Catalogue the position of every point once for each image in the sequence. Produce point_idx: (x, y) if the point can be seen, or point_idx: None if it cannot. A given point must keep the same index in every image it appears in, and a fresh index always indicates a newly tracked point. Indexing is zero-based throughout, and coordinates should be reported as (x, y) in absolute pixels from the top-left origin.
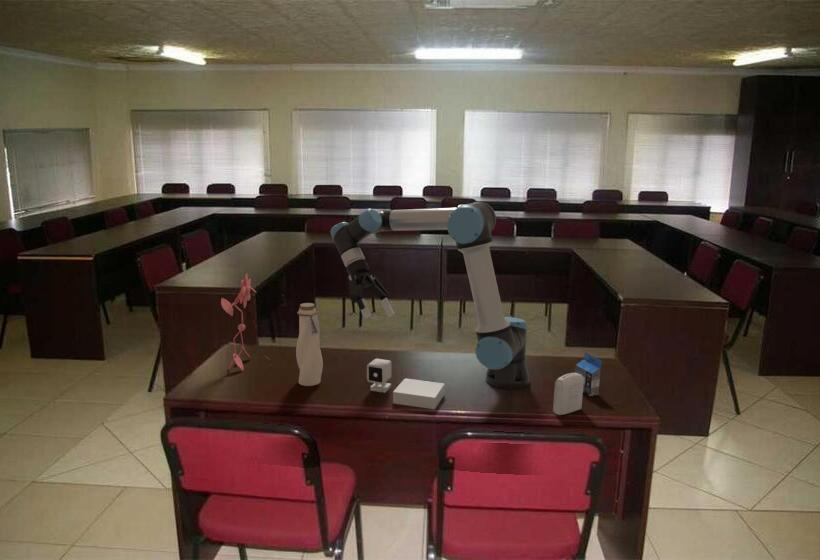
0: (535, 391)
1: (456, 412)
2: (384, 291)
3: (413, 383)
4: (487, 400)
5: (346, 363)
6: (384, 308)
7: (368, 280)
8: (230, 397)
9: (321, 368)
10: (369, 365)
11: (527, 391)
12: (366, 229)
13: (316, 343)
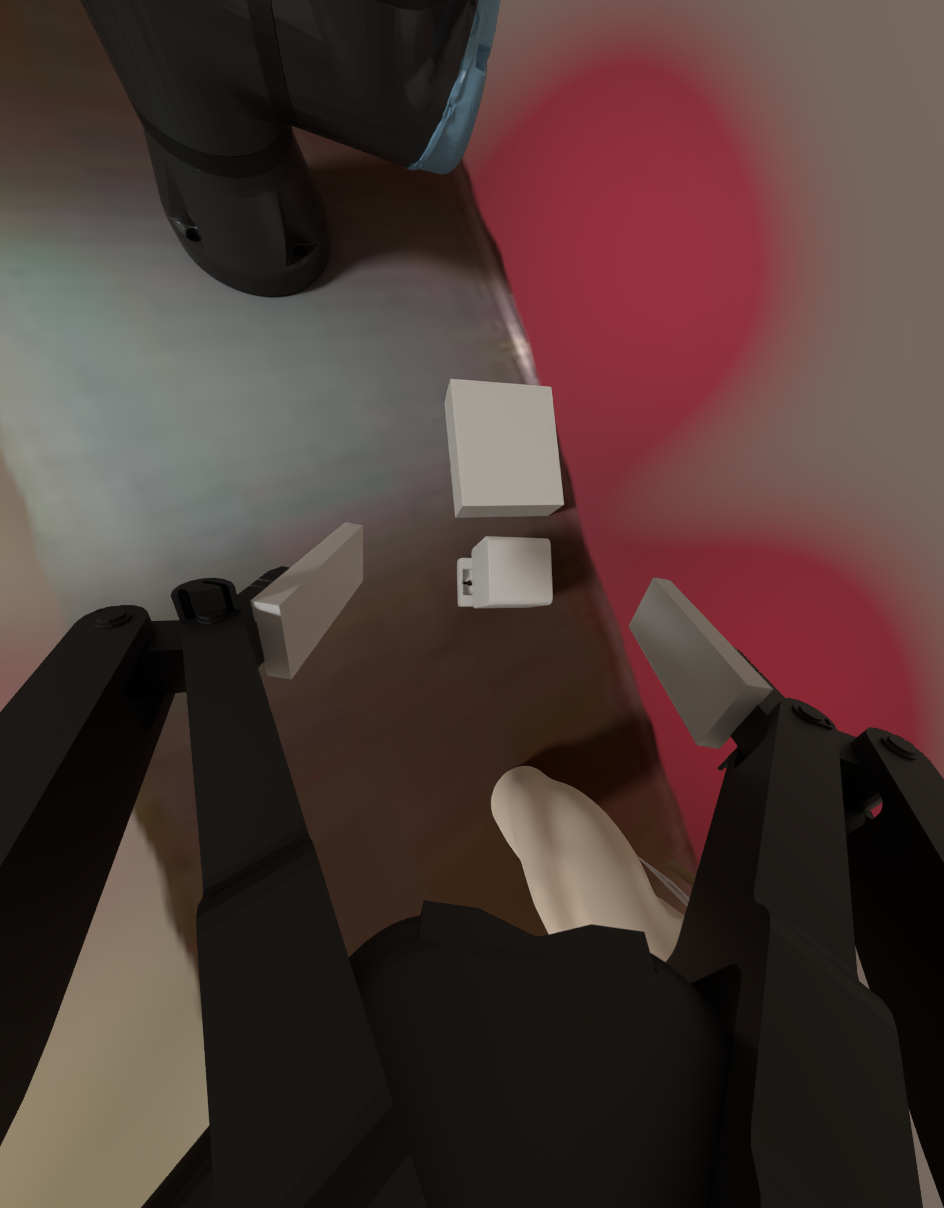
0: (309, 151)
1: (529, 355)
2: (120, 682)
3: (488, 468)
4: (430, 286)
5: (331, 794)
6: (332, 615)
7: (417, 1146)
8: (682, 908)
9: (531, 782)
10: (550, 594)
11: (319, 175)
12: None
13: (621, 838)
